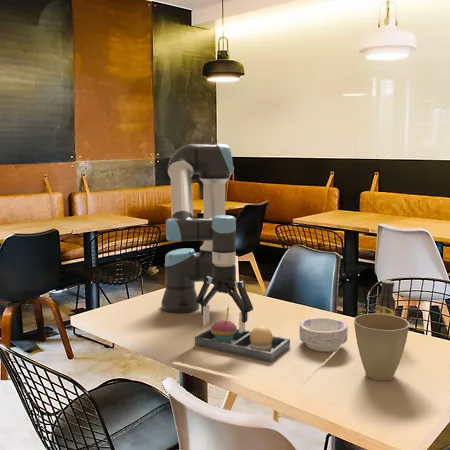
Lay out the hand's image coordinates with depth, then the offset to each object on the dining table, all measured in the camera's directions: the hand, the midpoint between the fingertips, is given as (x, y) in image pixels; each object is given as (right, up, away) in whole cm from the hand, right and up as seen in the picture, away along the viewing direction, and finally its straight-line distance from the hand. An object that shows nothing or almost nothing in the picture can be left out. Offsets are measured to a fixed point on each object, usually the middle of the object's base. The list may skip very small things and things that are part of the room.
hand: (223, 328), depth 175 cm
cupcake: (0, -5, +1) cm, 5 cm away
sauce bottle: (+54, -5, +7) cm, 54 cm away
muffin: (+12, -6, -6) cm, 14 cm away
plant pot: (+44, -9, -22) cm, 50 cm away
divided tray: (+6, -6, -3) cm, 9 cm away
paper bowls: (+32, -6, -1) cm, 32 cm away
